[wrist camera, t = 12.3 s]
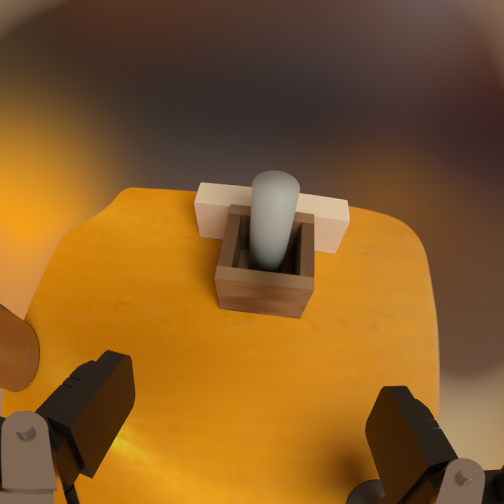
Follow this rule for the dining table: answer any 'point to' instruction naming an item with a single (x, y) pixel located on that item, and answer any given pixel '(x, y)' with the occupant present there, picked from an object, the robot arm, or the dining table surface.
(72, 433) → the robot arm
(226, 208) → the rail
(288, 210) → the gray cylinder
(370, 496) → the sundae
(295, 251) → the open wooden box
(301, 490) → the dining table surface
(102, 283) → the dining table surface
